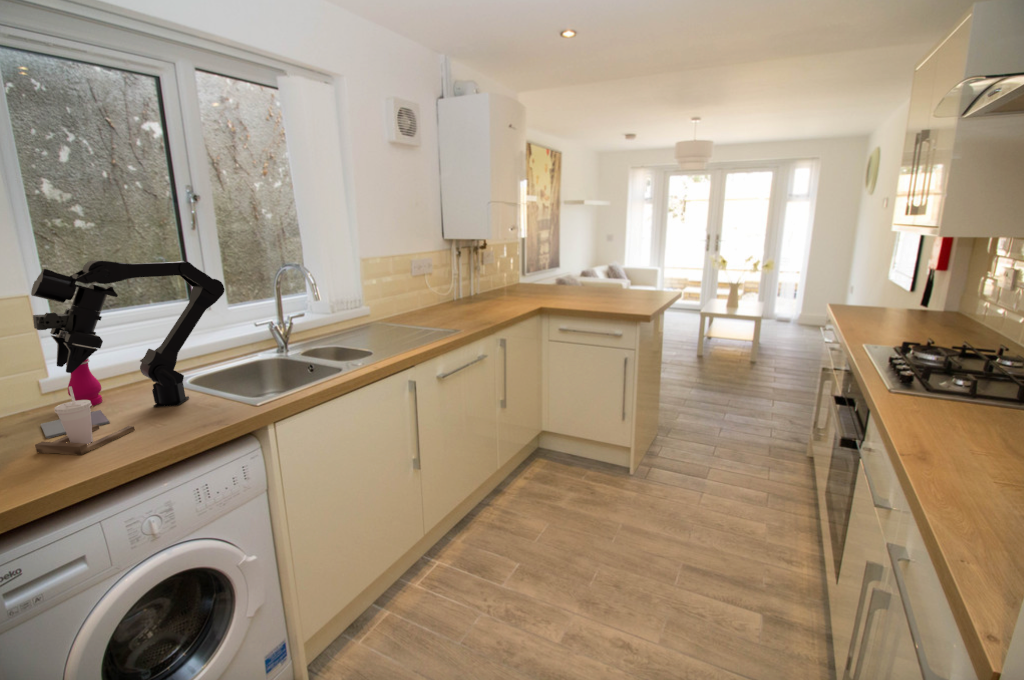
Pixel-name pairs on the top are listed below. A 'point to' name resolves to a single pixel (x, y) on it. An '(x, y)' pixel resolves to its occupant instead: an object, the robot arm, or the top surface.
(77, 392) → the pepper mill
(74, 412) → the smoothie
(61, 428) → the plate
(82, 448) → the lane
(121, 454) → the top surface
